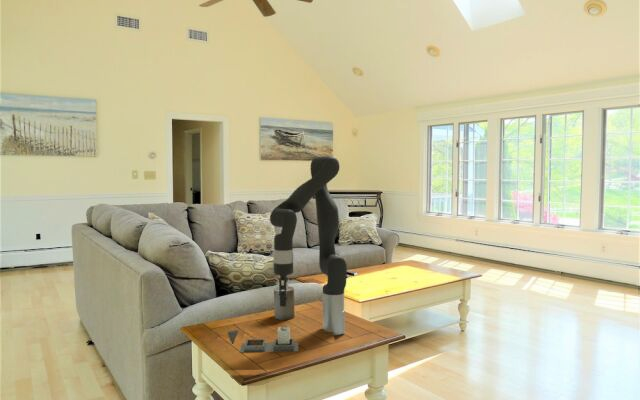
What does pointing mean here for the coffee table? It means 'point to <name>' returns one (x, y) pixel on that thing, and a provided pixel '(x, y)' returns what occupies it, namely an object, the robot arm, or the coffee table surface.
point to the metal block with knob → (283, 335)
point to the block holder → (267, 346)
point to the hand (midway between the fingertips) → (283, 303)
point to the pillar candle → (287, 310)
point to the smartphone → (233, 335)
